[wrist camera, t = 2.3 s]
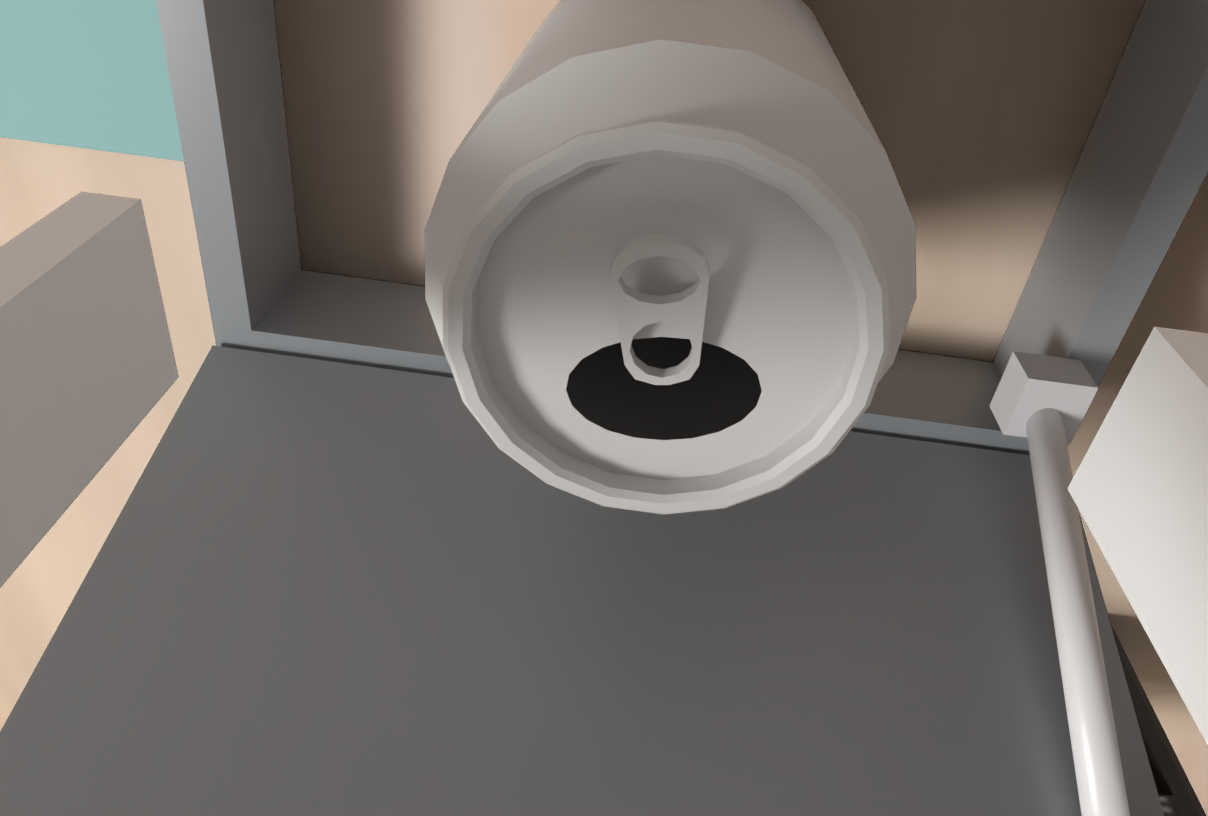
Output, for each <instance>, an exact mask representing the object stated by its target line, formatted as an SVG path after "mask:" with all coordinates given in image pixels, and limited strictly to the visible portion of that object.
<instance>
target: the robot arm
mask: <svg viewBox="0 0 1208 816" xmlns="http://www.w3.org/2000/svg"><path fill="white" fill-rule="evenodd" d="M178 377H179V376H178V372H177V367H176V362H175V358H174V353H173V348H172V343H171V339H170V334H169V329H168V325H167V320H166V315H165V311H164V306H163V301H162V296H161V292H160V287H159V282H158V278H157V273H156V268H155V263H154V259H153V254H152V249H151V245H150V240H149V235H148V231H147V226H146V221H145V216H144V212H143V207H142V202H141V199H135V198H127V197H119V196H111V195H103V194H96V193H88V192H81V193H79V194H78V195H76V196H75V197H73V198H72V199H70V200H69V201H67V202H66V203H64V204H63V205H61V206H60V207H59V208H57V209H56V210H54V211H53V212H51V213H50V214H48V215H47V216H45V217H44V218H42V219H41V220H39V221H38V222H37V223H35V224H34V225H32V226H31V227H29V228H28V229H26V230H25V231H23V232H22V233H20V234H19V235H17V236H16V237H15V238H13V239H12V240H10V241H9V242H7V243H6V244H4V245H3V246H1V247H0V588H1V586H2V585H3V584H4V583H5V582H6V581H7V579H8V578H9V577H10V576H11V575H12V573H13V572H14V571H15V570H16V569H17V568H18V566H19V565H20V564H21V563H22V562H23V560H24V559H25V558H26V557H27V556H28V555H29V553H30V552H31V551H32V550H33V549H34V547H35V546H36V545H37V544H38V543H39V542H40V540H41V539H42V538H43V537H44V536H45V534H46V533H47V532H48V531H49V530H50V529H51V527H52V526H53V525H54V524H55V523H56V521H57V520H58V519H59V518H60V517H61V516H62V514H63V513H64V512H65V511H66V510H67V508H68V507H69V506H70V505H71V504H72V503H73V501H74V500H75V499H76V498H77V497H78V495H79V494H80V493H81V492H82V491H83V490H84V488H85V487H86V486H87V485H88V484H89V482H90V481H91V480H92V479H93V478H94V477H95V475H96V474H97V473H98V472H99V471H100V469H101V468H102V467H103V466H104V465H105V464H106V462H107V461H108V460H109V459H110V458H111V456H112V455H113V454H114V453H115V452H116V451H117V449H118V448H119V447H120V446H121V445H122V443H123V442H124V441H125V440H126V439H127V438H128V436H129V435H130V434H131V433H132V432H133V430H134V429H135V428H136V427H137V426H138V425H139V423H140V422H141V421H142V420H143V419H144V417H145V416H146V415H147V414H148V413H149V412H150V410H151V409H152V408H153V407H154V406H155V404H156V403H157V402H158V401H159V400H160V399H161V397H162V396H163V395H164V394H165V393H166V391H167V390H168V389H169V388H170V387H171V386H172V384H173V383H174V382H175V381H176V380H177V378H178ZM1067 489H1068V491H1069V492H1070V494H1071V496H1072V498H1073V500H1074V502H1075V503H1076V505H1077V507H1078V509H1079V511H1080V513H1081V514H1082V516H1083V518H1084V520H1085V522H1086V524H1087V525H1088V527H1089V529H1090V531H1091V533H1092V535H1093V536H1094V538H1095V540H1096V542H1097V544H1098V546H1099V547H1100V549H1101V551H1102V553H1103V555H1104V557H1105V558H1106V560H1107V562H1108V564H1109V566H1110V568H1111V569H1112V571H1113V573H1114V575H1115V577H1116V578H1117V580H1118V582H1119V584H1120V586H1121V588H1122V589H1123V591H1124V593H1125V595H1126V597H1127V599H1128V600H1129V602H1130V604H1131V606H1132V608H1133V610H1134V611H1135V613H1136V615H1137V617H1138V619H1139V621H1140V622H1141V624H1142V626H1143V628H1144V630H1145V632H1146V633H1147V635H1148V637H1149V639H1150V641H1151V643H1152V644H1153V646H1154V648H1155V650H1156V652H1157V654H1158V655H1159V657H1160V659H1161V661H1162V663H1163V665H1164V666H1165V668H1166V670H1167V672H1168V674H1169V675H1170V677H1171V679H1172V681H1173V683H1174V685H1175V686H1176V688H1177V690H1178V692H1179V694H1180V696H1181V697H1182V699H1183V701H1184V703H1185V705H1186V707H1187V708H1188V710H1189V712H1190V714H1191V716H1192V718H1193V719H1194V721H1195V723H1196V725H1197V727H1198V729H1199V730H1200V732H1201V734H1202V736H1203V738H1204V740H1205V741H1206V743H1207V745H1208V333H1202V332H1194V331H1186V330H1178V329H1170V328H1162V327H1154V328H1153V330H1152V332H1151V334H1150V335H1149V337H1148V339H1147V341H1146V343H1145V345H1144V347H1143V348H1142V350H1141V352H1140V354H1139V356H1138V358H1137V360H1136V362H1135V363H1134V365H1133V367H1132V369H1131V371H1130V373H1129V375H1128V376H1127V378H1126V380H1125V382H1124V384H1123V386H1122V388H1121V390H1120V391H1119V393H1118V395H1117V397H1116V399H1115V401H1114V403H1113V404H1112V406H1111V408H1110V410H1109V412H1108V414H1107V416H1106V417H1105V419H1104V421H1103V423H1102V425H1101V427H1100V429H1099V431H1098V432H1097V434H1096V436H1095V438H1094V440H1093V442H1092V444H1091V445H1090V447H1089V449H1088V451H1087V453H1086V455H1085V457H1084V459H1083V460H1082V462H1081V464H1080V466H1079V468H1078V470H1077V472H1076V473H1075V475H1074V477H1073V479H1072V481H1071V483H1070V485H1069V487H1068V488H1067Z"/></svg>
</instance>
